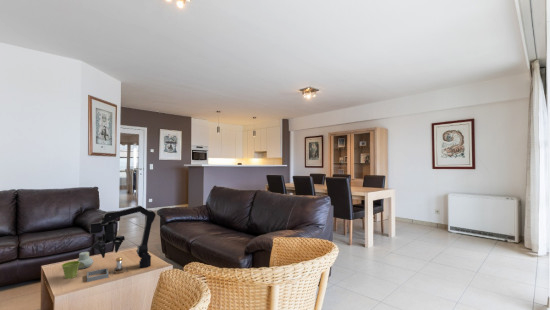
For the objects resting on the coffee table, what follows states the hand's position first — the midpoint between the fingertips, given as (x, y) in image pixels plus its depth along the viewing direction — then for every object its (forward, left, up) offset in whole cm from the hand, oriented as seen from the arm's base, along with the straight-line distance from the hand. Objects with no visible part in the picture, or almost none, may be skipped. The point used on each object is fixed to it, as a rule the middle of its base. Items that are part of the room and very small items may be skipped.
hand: (110, 255), depth 176 cm
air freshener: (+14, -27, -13) cm, 33 cm away
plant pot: (+21, -12, -13) cm, 27 cm away
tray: (+7, 0, -13) cm, 15 cm away
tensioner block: (-5, -2, -13) cm, 14 cm away
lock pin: (-5, 0, -12) cm, 13 cm away
